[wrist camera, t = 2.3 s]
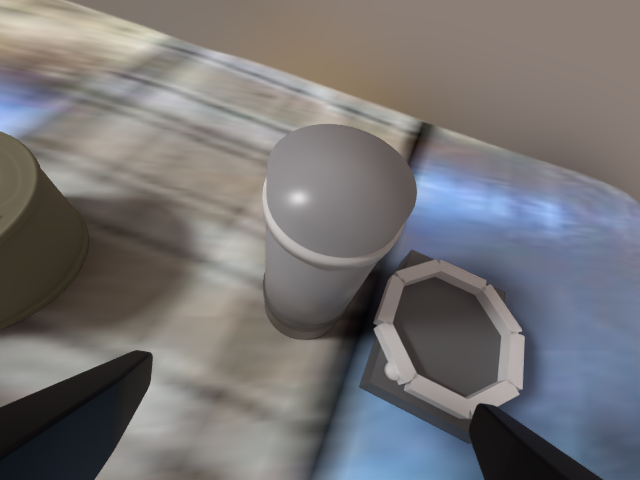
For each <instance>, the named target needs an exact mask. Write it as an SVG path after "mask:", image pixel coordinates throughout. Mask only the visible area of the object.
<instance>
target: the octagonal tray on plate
mask: <svg viewBox="0 0 640 480" xmlns="http://www.w3.org/2000/svg"><path fill="white" fill-rule="evenodd" d="M486 281H487V280H485V279H482V278H480V277H478V276H476V275H474V274H471V273H469V272H467V271H465V270H463V269H461V268H458V267H456V266H454V265H452V264H450V263H447V262H445V261H443V260H440V261H439V262H438V261H437V259H435V260H434V259H431V258H429V257H427V256H425V255H423V254H421V253H418V252H416V251H414V250H411V251H410V252H409V253H408V255H407V256H406V257H405V258H404V259H403V261H402V262H401V263H400V266H399V269H398V271H396V272H395V273H394V275H392V276H391V277H390V278H389V280H388V282H387V285H386V288H385V291H384V293H383V296H382V299H381V302H380V305H379V308H378V311H377V314H376V316H375V319H374V322H373V324H375V325H378V326H377V327H375V328H374V331H375V334H376V338H375V341H374V344H373V347H372V350H371V353H370V356H369V359H368V362H367V365H366V368H365V371H364V374H363V377H362V380H361V383H360V386H359V387H360V388H362V389H364V390H366V391H368V392H370V393H372V394H373V395H375V396H377V397H379V398H381V399H383V400H385V401H387V402H389V403H391V404H393V405H395V406H397V407H399V408H401V409H403V410H405V411H407V412H408V413H410V414H412V415H414V416H416V417H418V418H420V419H422V420H424V421H426V422H428V423H430V424H432V425H434V426H436V427H438V428H440V429H442V430H443V431H445V432H447V433H449V434H451V435H453V436H455V437H457V438H459V439H461V440H463V441H465V442H467V443H471V440H470V437H469V425H470V422H471V419H472V416H473V414H474V411H475V408H476V406H477V405H478V404H479V403H484V404H491V405H494V406H496V407H498V406H500V405H501V404H503V403H505V402H507V401H509V400H511V399H513V398H514V397H516V396H518V395H520V394H519V392H518V391H517V390H523V366H524V341H525V336H523V335H520V334H518V333H519V332H521V331H523V330H522V329H521V327H520V326H519V324H518V323H517V322H516V320H515V319H514V317H513V316H512V314H511V313H510V311H509V310H508V308H507V307H506V305H505V304H504V299H505V292H503V291H501V290H499V289H497V288H495V287H493V286H492V285H491V284H490V285H488V284H486Z"/></svg>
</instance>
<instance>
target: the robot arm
mask: <svg viewBox="0 0 640 480" xmlns="http://www.w3.org/2000/svg"><path fill="white" fill-rule="evenodd" d="M152 361H153V356H152V354H151V352H146V351H139V350H135V351H132V352H130V353H127V354H125V355H123V356H120V357H118V358H116V359H113V360H111V361H109V362H106V363H104V364H102V365H99V366H97V367H94V368H92V369H90V370H87V371H85V372H83V373H80V374H78V375H76V376H73V377H71V378H69V379H66V380H64V381H61V382H59V383H57V384H54V385H52V386H50V387H47V388H45V389H43V390H40V391H38V392H35V393H33V394H31V395H28V396H26V397H24V398H21V399H19V400H17V401H14V402H12V403H10V404H7V405H5V406H2V407H0V480H95V478H96V477H97V475H98V474H99V472H100V471H101V469H102V468H103V466H104V465H105V463H106V462H107V460H108V459H109V457H110V456H111V454H112V453H113V451H114V449H115V448H116V446H117V444H118V442H119V441H120V439H121V437H122V435H123V433H124V432H125V430H126V428H127V426H128V424H129V423H130V421H131V419H132V417H133V415H134V413H135V412H136V410H137V408H138V406H139V404H140V403H141V401H142V399H143V397H144V395H145V393H146V392H147V390H148V387H149V385H150V381H151V372H152ZM469 437H470V440H471V443H472V445H473V448H474V451H475V454H476V457H477V460H478V462H479V465H480V468H481V471H482V474H483V477H484V479H485V480H603V479H601V478H600V477H598V476H597V475H595V474H594V473H593V472H591V471H590V470H588V469H587V468H585V467H584V466H582V465H581V464H579V463H578V462H576V461H575V460H574V459H572V458H571V457H569V456H568V455H566V454H565V453H563V452H562V451H560V450H559V449H557V448H556V447H555V446H553V445H552V444H550V443H549V442H547V441H546V440H544V439H543V438H541V437H540V436H538V435H537V434H536V433H534V432H533V431H531V430H530V429H528V428H527V427H525V426H524V425H522V424H521V423H519V422H518V421H517V420H515V419H514V418H512V417H511V416H509V415H508V414H506V413H505V412H503V411H502V410H501V409H499V408H498V407H496V406H494V405H491V404H484V403H479V404H478V405H477V406H476V408H475V411H474V414H473V416H472V419H471V422H470V425H469Z"/></svg>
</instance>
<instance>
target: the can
mask: <svg viewBox="0 0 640 480" xmlns="http://www.w3.org/2000/svg"><path fill="white" fill-rule="evenodd" d="M88 244H89V236H88V230H87V227H86V224H85V222H84V220H83V219H82V217H81V216H80V215H79V213H78V212H77V211H76V210H75V209H74V208H73V207H72V206H71V205H70V203H69V202H68V201H67V199H66V198H65V197H64V196H63V195H62V193H61V192H60V191H59V190H58V189H57V187H56V186H55V185H54V184H53V183H52V181H51V180H50V179H49V178H48V177H47V175H46V174H45V173H44V172H43V171H42V169H41V168H40V165H39V163H38V161H37V159H36V158H35V157H34V155H33V154H32V153H31V151H30V150H29V149H28V148H27V147H26V146H25V145H24V144H22V143H21V142H20V141H18V140H17V139H15V138H13V137H12V136H10V135H7V134H5V133H3V132H0V330H1V329H4V328H6V327H8V326H11V325H13V324H15V323H17V322H19V321H22V320H24V319H25V318H27V317H29V316H31V315H32V314H34V313H36V312H37V311H39V310H40V309H42V308H43V307H45V306H46V305H47V304H49V303H50V302H51V301H52V300H54V299H55V298H56V297H57V296H58V295H59V294H60V293H61V292H62V291H63V290H64V289H65V288H66V287H67V286H68V285H69V284H70V283H71V282H72V280H73V279H74V278H75V276H76V275H77V273H78V272H79V270H80V268H81V267H82V264H83V262H84V260H85V257H86V254H87V250H88Z"/></svg>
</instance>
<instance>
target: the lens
mask: <svg viewBox="0 0 640 480" xmlns="http://www.w3.org/2000/svg"><path fill="white" fill-rule="evenodd" d="M416 196H417V189H416V182H415V179H414V176H413V173H412V171H411V169H410V167H409V166H408V164H407V163H406V161H405V160H404V159H403V157H402V156H401V155H400V154H399V153H398V152H397V151H396V150H395V149H394V148H392V147H391V146H390V145H389V144H387V143H386V142H384V141H383V140H381V139H380V138H378V137H376V136H374V135H372V134H370V133H368V132H365V131H362V130H360V129H356V128H353V127H348V126H343V125H335V124H320V125H312V126H307V127H304V128H300V129H298V130H295V131H293V132H291V133H290V134H288V135H286V136H285V137H284V138H282V139H281V140H280V141H279V142H278V143H277V144H276V145H275V147H274V148H273V150H272V152H271V154H270V156H269V159H268V163H267V177H266V180H265V183H264V187H263V215H264V219H265V223H266V244H265V274H264V280H263V293H264V299H265V310H266V313H267V316H268V318H269V320H270V322H271V323H272V324H273V326H274V327H275V328H276V329H277V330H278V331H280V332H281V333H283V334H284V335H286V336H288V337H291V338H294V339H300V340H308V339H313V338H317V337H319V336H322V335H323V334H325V333H326V332H328V331H329V330H330V329H331V328H332V327H333V326H334V324H335V323H336V322H337V321H338V320H339V319H340V318H341V317H342V315H343V314H344V312H345V311H346V309H347V308H348V306H349V304H350V302H351V300H352V298H353V297H354V295H355V294H356V292H357V291H358V289H359V288H360V286H361V285H362V283H363V282H364V281H365V279H366V278H367V276H368V275H369V273H370V272H371V270H372V269H373V267H374V266H375V265H376V263H377V262H378V260H379V259H381V258H382V257H383V256H385V254H386V253H387V252H388V251H389V250H390V249H391V248H392V246H393V245H394V243H395V242H396V241H397V239H398V238H399V236H400V235H401V233H402V231H403V228H404V225H405V221H406V220H407V218H408V217H409V215H410V214H411V212H412V210H413V208H414V206H415V202H416Z"/></svg>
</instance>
